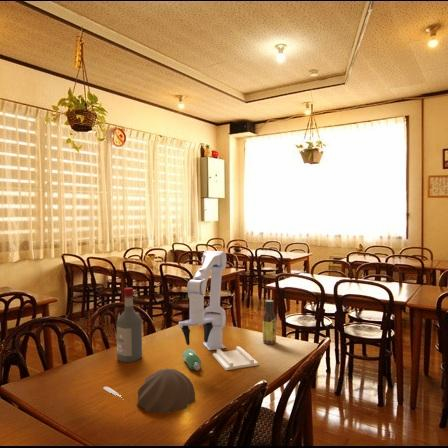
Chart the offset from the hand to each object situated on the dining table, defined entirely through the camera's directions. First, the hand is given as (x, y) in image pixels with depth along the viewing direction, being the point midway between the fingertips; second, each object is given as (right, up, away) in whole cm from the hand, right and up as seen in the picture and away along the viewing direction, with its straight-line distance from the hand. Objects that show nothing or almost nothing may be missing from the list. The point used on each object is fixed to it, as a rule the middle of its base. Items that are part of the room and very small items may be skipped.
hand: (196, 343), depth 155 cm
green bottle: (-2, -10, 0) cm, 10 cm away
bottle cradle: (+15, -9, +6) cm, 19 cm away
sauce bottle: (+32, -8, +27) cm, 43 cm away
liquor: (-29, -10, +9) cm, 32 cm away
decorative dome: (-8, -11, -26) cm, 29 cm away
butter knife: (-22, -11, -26) cm, 36 cm away
